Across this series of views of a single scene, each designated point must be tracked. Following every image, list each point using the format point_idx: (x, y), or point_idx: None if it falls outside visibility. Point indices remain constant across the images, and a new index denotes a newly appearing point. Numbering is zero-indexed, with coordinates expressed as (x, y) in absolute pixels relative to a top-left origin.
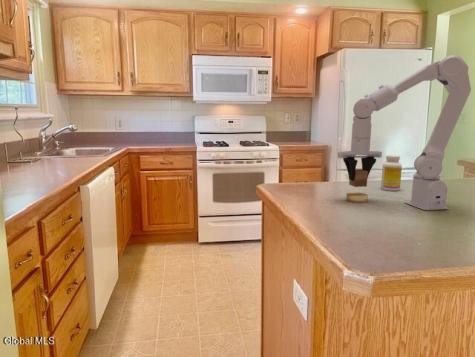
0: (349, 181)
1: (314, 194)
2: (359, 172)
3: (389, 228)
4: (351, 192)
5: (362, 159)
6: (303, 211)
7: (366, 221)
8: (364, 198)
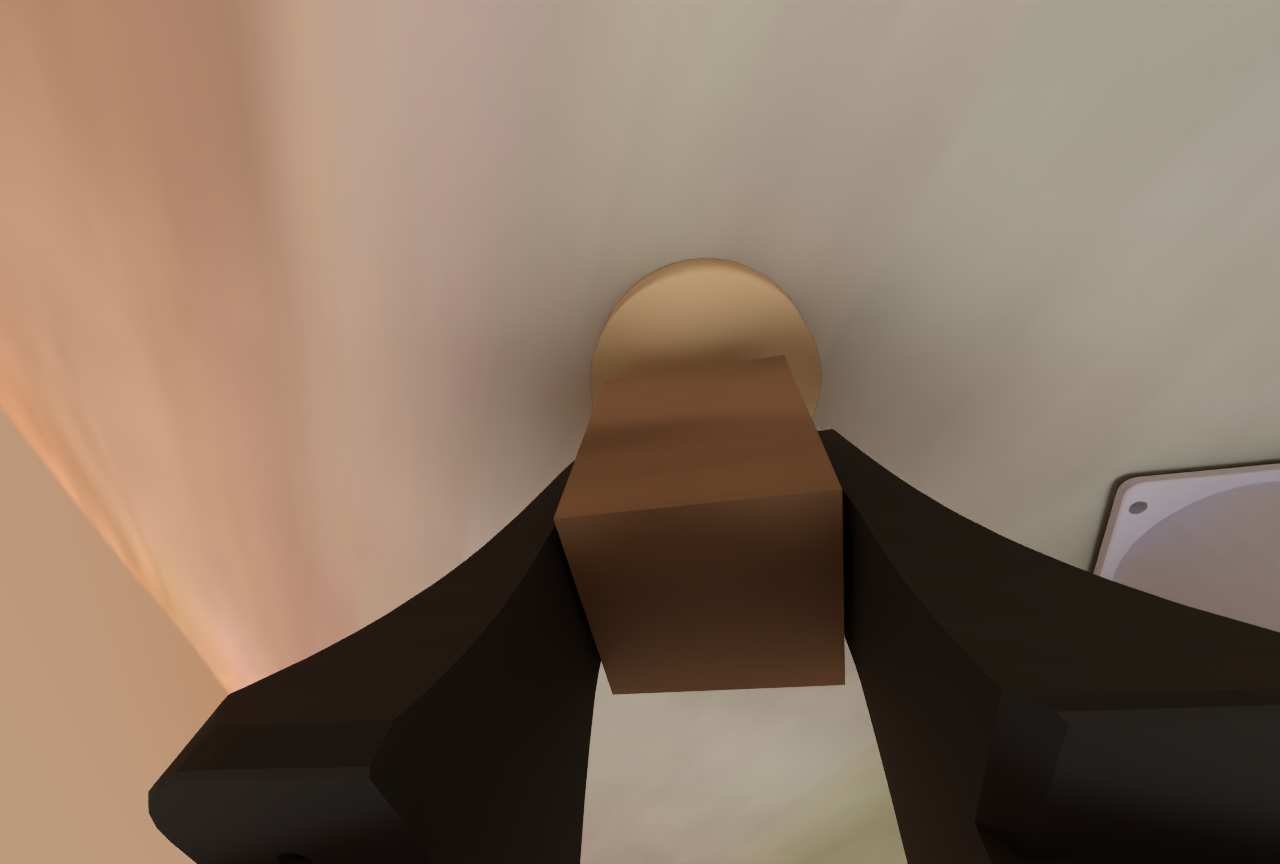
0: (598, 406)
1: (257, 32)
2: (673, 671)
3: (641, 820)
4: (675, 285)
5: (973, 743)
6: (263, 618)
7: None
8: None
